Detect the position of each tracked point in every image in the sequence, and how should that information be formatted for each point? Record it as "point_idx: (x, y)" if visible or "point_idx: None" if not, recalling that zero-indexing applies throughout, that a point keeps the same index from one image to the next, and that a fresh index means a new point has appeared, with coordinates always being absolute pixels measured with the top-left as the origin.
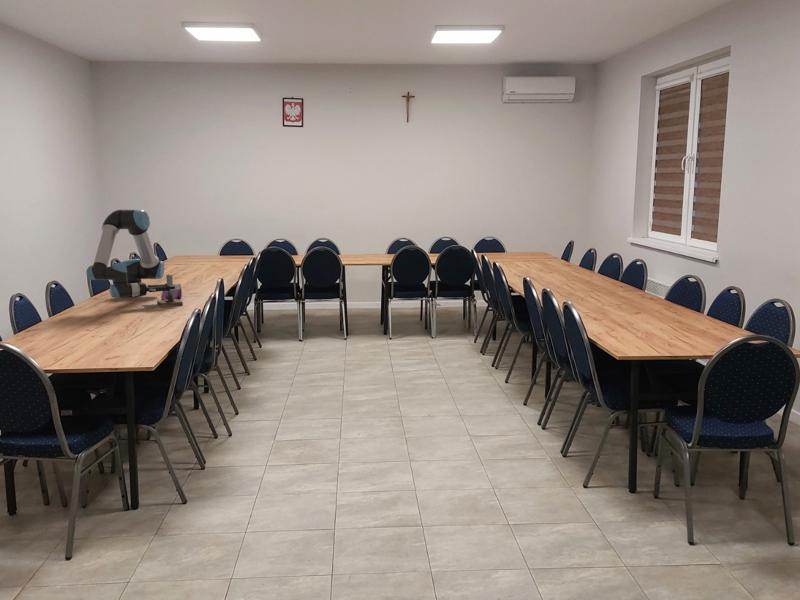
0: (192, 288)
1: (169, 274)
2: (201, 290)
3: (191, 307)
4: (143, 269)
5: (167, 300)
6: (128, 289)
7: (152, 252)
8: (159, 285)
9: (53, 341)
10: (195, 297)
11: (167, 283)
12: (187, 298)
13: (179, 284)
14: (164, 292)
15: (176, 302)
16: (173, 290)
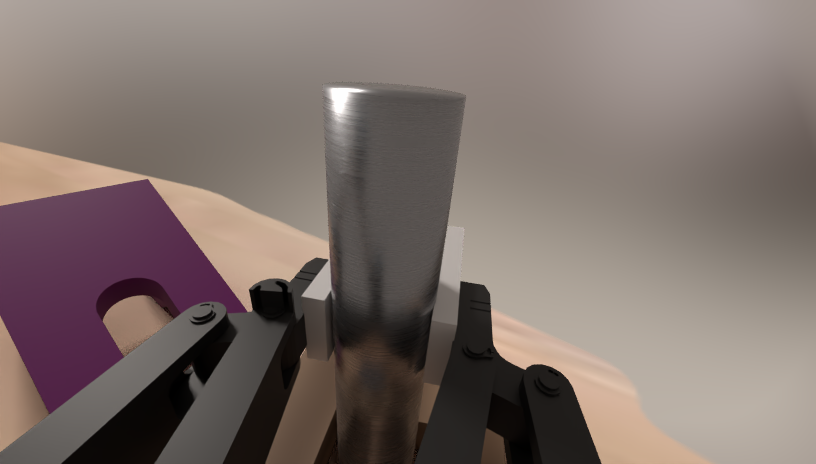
0: (46, 168)
1: (338, 82)
2: (130, 173)
3: (591, 390)
4: None
5: (293, 460)
6: None
7: None
8: (220, 460)
9: None
10: (240, 233)
11: (403, 297)
12: (218, 260)
13: (145, 186)
14: (52, 329)
15: (502, 446)
16: (148, 262)
